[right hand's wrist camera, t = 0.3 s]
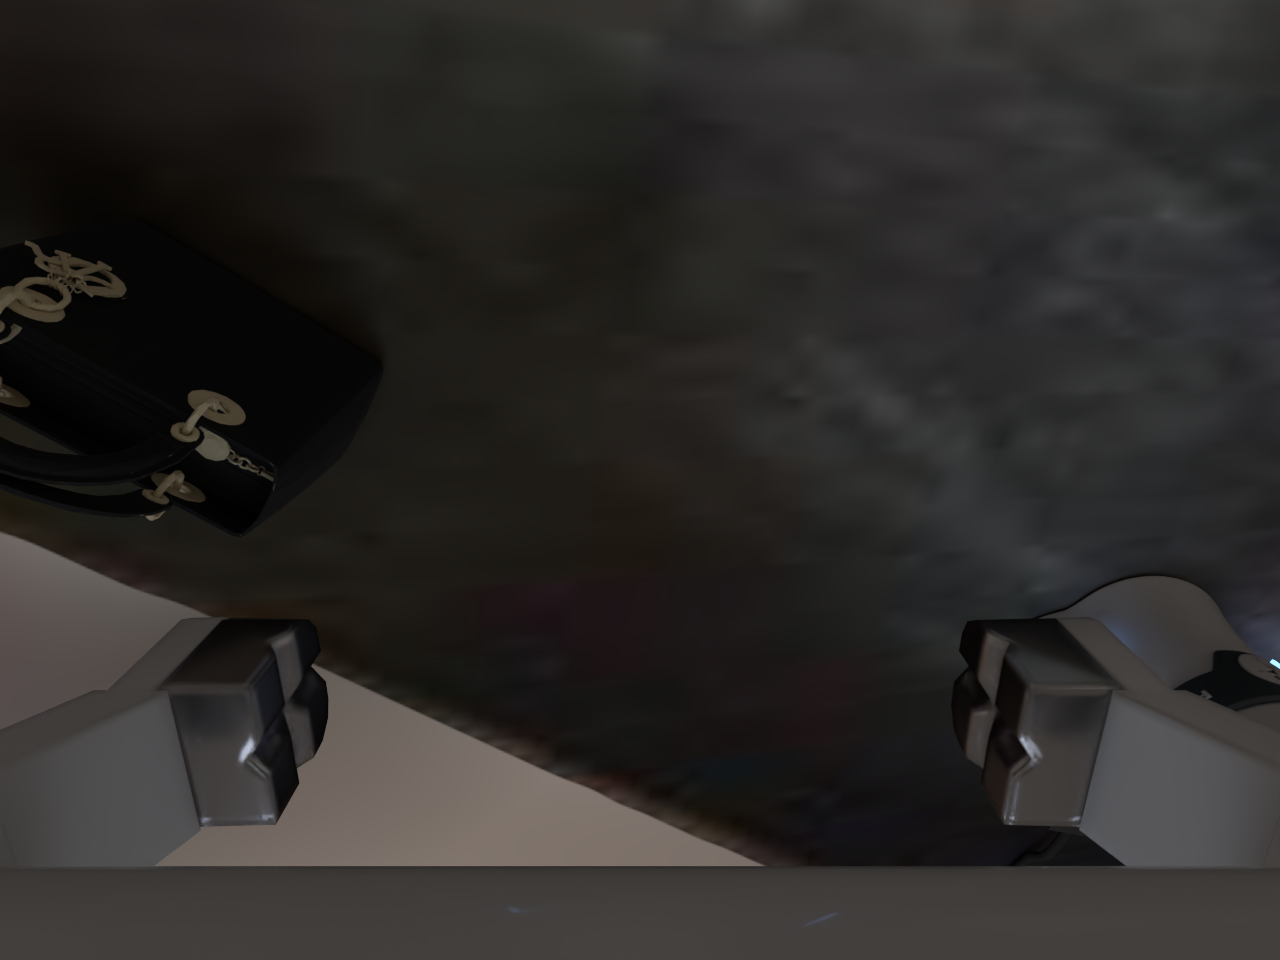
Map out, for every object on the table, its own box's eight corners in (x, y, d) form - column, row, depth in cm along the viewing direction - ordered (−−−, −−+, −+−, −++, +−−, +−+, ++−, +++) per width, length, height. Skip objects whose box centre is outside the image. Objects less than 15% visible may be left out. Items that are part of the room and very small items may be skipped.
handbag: (401, 370, 58) (237, 503, 34) (345, 471, 60) (157, 659, 37) (121, 203, 54) (-282, 225, 30) (74, 319, 56) (-328, 422, 33)
